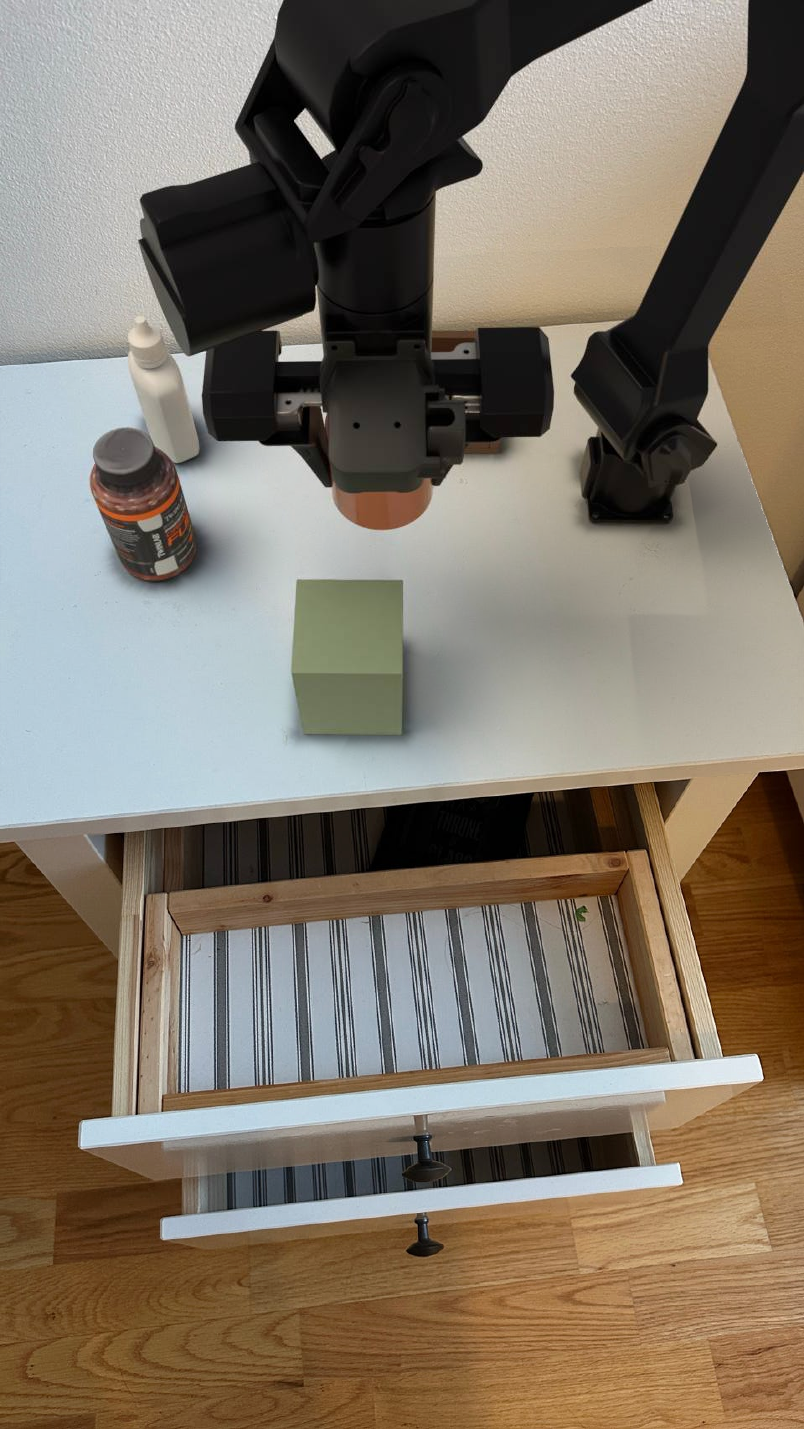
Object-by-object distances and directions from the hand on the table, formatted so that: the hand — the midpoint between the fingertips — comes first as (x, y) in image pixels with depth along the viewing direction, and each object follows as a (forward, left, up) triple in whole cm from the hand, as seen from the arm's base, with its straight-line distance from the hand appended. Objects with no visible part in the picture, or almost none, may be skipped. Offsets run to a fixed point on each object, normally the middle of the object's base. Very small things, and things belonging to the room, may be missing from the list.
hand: (381, 481), depth 61 cm
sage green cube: (+2, +8, -13) cm, 15 cm away
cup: (0, 0, -1) cm, 1 cm away
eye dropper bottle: (+17, -15, -13) cm, 26 cm away
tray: (-4, -18, -13) cm, 23 cm away
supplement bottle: (+17, -4, -13) cm, 22 cm away
